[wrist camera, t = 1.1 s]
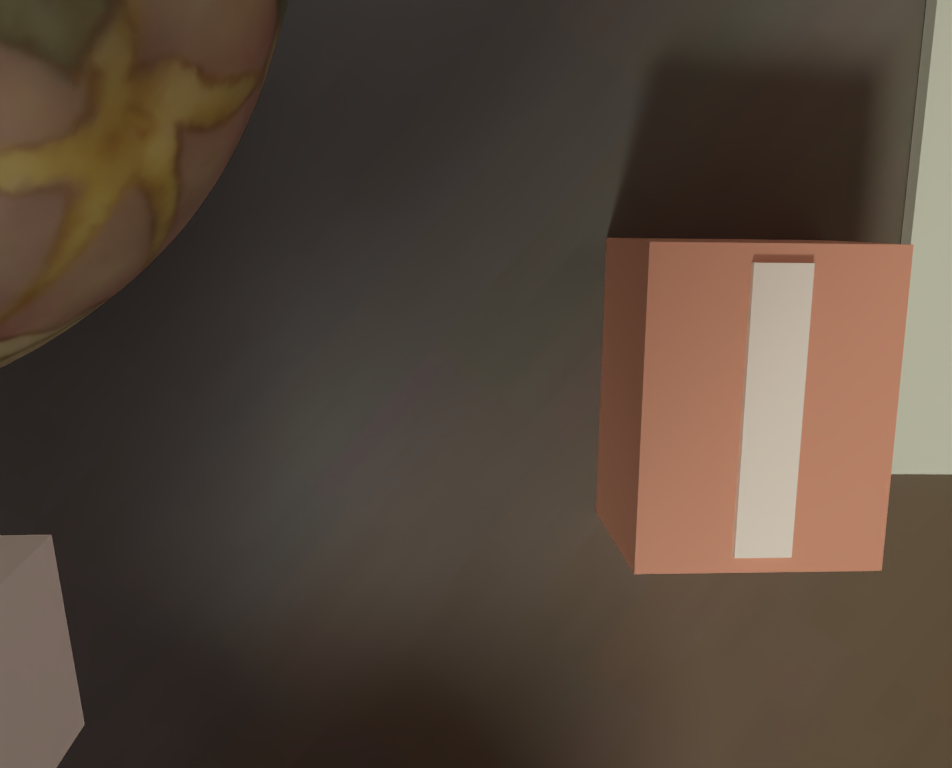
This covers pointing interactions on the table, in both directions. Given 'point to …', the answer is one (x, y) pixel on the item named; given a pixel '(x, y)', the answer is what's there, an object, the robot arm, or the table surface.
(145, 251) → the pitcher
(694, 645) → the table surface
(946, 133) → the mat
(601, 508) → the card box
